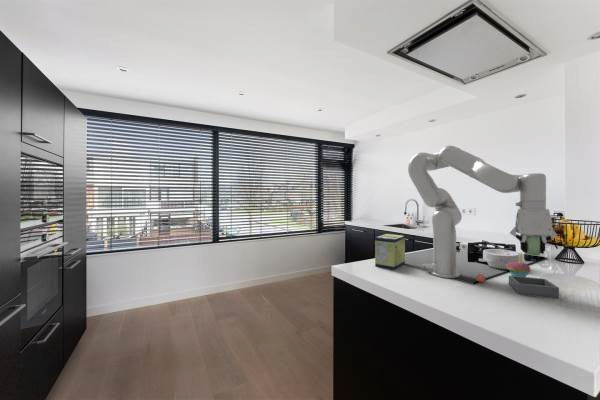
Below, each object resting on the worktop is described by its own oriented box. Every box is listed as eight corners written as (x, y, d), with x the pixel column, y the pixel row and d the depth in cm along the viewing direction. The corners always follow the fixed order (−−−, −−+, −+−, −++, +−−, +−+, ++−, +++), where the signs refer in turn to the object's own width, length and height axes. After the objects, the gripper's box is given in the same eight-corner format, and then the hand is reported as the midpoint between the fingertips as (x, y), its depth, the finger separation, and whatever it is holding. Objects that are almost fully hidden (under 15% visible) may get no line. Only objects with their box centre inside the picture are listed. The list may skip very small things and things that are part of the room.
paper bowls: (475, 263, 143) (475, 249, 143) (501, 262, 145) (501, 248, 145) (500, 272, 128) (500, 255, 128) (528, 270, 130) (528, 254, 129)
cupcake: (535, 281, 115) (535, 253, 115) (512, 280, 117) (513, 253, 116) (522, 275, 123) (523, 249, 123) (502, 274, 125) (502, 248, 125)
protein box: (405, 263, 145) (405, 235, 145) (394, 270, 134) (394, 239, 133) (386, 260, 152) (386, 233, 152) (374, 266, 141) (374, 237, 140)
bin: (518, 294, 101) (518, 283, 101) (508, 284, 111) (508, 275, 111) (558, 298, 97) (559, 287, 96) (545, 288, 106) (545, 278, 106)
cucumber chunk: (527, 255, 102) (527, 236, 102) (523, 252, 106) (523, 235, 106) (542, 255, 100) (542, 237, 100) (537, 253, 104) (537, 235, 104)
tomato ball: (476, 283, 114) (476, 275, 113) (474, 280, 117) (474, 272, 117) (486, 284, 112) (486, 276, 112) (484, 281, 115) (484, 273, 115)
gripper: (509, 206, 102) (509, 253, 103) (566, 206, 96) (566, 256, 96) (503, 205, 109) (503, 249, 110) (556, 205, 103) (555, 251, 103)
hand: (532, 251), depth 103 cm, fingers closed on cucumber chunk, 4 cm apart
